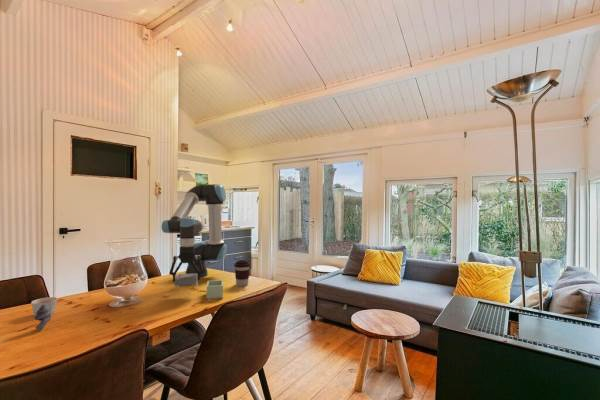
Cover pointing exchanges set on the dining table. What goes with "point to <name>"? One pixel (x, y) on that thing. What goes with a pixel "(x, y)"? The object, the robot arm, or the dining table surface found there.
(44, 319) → the seashell
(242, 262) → the coffee cup
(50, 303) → the grey bowl
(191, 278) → the lid
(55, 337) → the dining table surface
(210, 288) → the box
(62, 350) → the dining table surface
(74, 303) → the dining table surface
